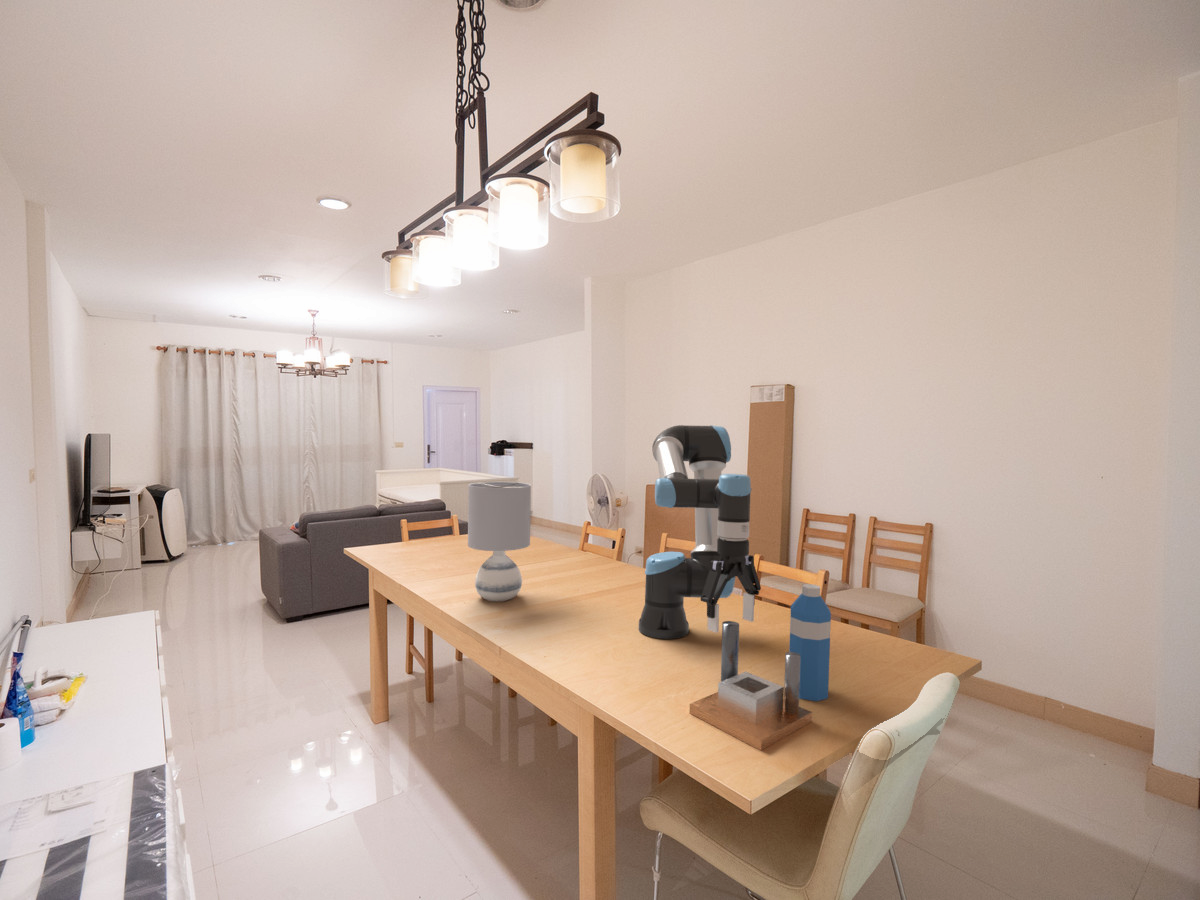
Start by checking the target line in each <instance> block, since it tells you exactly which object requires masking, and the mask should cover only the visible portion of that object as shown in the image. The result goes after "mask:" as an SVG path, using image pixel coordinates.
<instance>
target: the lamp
mask: <svg viewBox="0 0 1200 900" xmlns="http://www.w3.org/2000/svg"><path fill="white" fill-rule="evenodd" d="M531 493H532V484H530V483H526V482H517V481H515V482H514V481H483V482H473V483H469V484H468V494H467V495H468V496H467V497H468V498H467V499H468V502H467V504H468V505H467V510H468V511H467V546H468V547H469V548H470V549H473V550H477V551H484V552H492V555H491V556H489V557H488V558H487V559H486V560H485V561H484V562H483V563H482V564H481V565H480V567H479V568H478V571H477V572H476V574H475V575H476V576H475V582H474V587H475V589H476V592H477V594H478V595H479V596H480V597H481V598H483V599H485V600H486V601H489V602H494V603H495V602H497V603H499V602H506V601H509V600H512V599H513V598H515V597H516V596H517V595H518V594H519V593H520V591H521V589H522V585H523V579H522V577H523V576H522V574H521V571H520V569H519V567H518V565H517V564H516V563H515V562H514V560H513V559H512V558H510V556H508V555H507V554H506V551H508V552H509V551H518V550H521V549H525V548H528V547H529V546H530V545H531V513H532V512H531V504H532V503H531V502H532V501H531V500H532V495H531Z"/></svg>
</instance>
